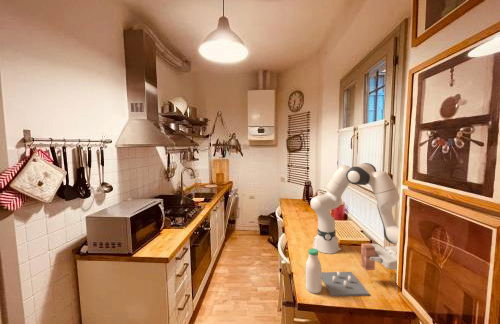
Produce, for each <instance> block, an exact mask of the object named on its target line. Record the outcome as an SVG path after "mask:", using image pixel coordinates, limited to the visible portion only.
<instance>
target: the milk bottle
mask: <svg viewBox="0 0 500 324" xmlns="http://www.w3.org/2000/svg"><path fill="white" fill-rule="evenodd" d="M307 252H308V258H307V260H306V261H305V289H306V290H307V291H308V292H309V293H311V294H319V293H321V292H322V286H323V285H322V282H323V280H322V276H321V272H322V265H321V262H320V260H319V257H318V256H319V251H318V250H316V249H313V248H309V249H308V251H307Z"/></svg>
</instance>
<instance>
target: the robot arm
mask: <svg viewBox="0 0 500 324" xmlns="http://www.w3.org/2000/svg"><path fill="white" fill-rule="evenodd" d="M350 184H352V185H354V186H355V185H357V186H367V185H369V186H370V188H371V189H372V192H373V193H374V194H373V195H374V196H375V200H376V206H377V211H378V213H379V216H380V220H381V223H382V226H383V237H384V238H385V240H386V241H387V242H388V243H390V244H391V245H387V246H385V247H384V246H383V245H381V244H378V243H370V244H371V245H372V246H374V247H375V257H373V256H369V260H370V261H375V262H376V263H380V264H381V266H383V267H385V269H387V270H394V271H395V270H397V243H398V235H399V227H400V226H398V225H397V224H396V222H395V219H394V215H393V213H392V209H393V207H394V206H395V205H397V204H398V202H399V201H400V193H399V191H398V189H397V187H396V185H395V183H394V180H393V179H392V178H391V176H390V175H389V174H388V173H387V172H386V171H384V170H378V171H377V168H376V167H375V166H374V165H373V164H371V163H370V162H369V163H368V162H364V163H359V164H356V165H354V166H352V167H350V166H348V165H347V164H346V165H345V164H343V165H340V166H339V167H338V168H337V169H336V170H335V171H334V173H333V174H332V176H331V177H330V179H329V181H328V183H326V189H327V190H326V192H325V193H323V194H320V195H319V194H318V195H316V196H314V197H312V198H311V200H310V201H309V202H310V207H311V209H312V211H314V212H315V214H316V217H317V231H316V232H317V234H316V236H313V243H312V249H316V250H318V252H319V253H323V254H327V255H328V254H329V255H330V254H332V255H333V254H336V253H338V252H339V251H341V250H342V249H341V247H340V246H339V240H338V237H337V236H336V233H337V232H336V228H335V227H336V220H335V217H333V216H332V214H331V210H334V209H337V208H339V207H340V206H342V205H341V204H342V203H343V202H342V201H343V200H342V197H343V196H342V195H343V194H344V192H345V191H346V189H347V188H348V186H349V185H350ZM397 271H398V270H397Z"/></svg>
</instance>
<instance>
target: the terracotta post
mask: <svg viewBox="0 0 500 324" xmlns="http://www.w3.org/2000/svg"><path fill="white" fill-rule="evenodd" d="M371 244H372V243H361V251H360V252H361V257H360V258H361V259H360V265H361V267H362V268H363V269H364V271H375V262H376V261H370V260H369V256H373V257H375V247H374V246H372V245H371Z"/></svg>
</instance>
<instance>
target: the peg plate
mask: <svg viewBox="0 0 500 324" xmlns="http://www.w3.org/2000/svg"><path fill="white" fill-rule="evenodd" d="M321 276H322V282H323V284H324V286H325V287H326V288H325V289H326V290H327V291H328V293H329V295H330V297H363V296H364V297H365V296H367V297H368V296H370V293H369V291H368V290H367V289H366V288H365V286H363V284H362V283H361V282H360V281H359V279H358V278H357V277H356V276H355V275H354V273H353V272H352V271H338V270H337V271H330V272H329V271H327V272H326V271H324V272H322V271H321Z"/></svg>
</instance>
